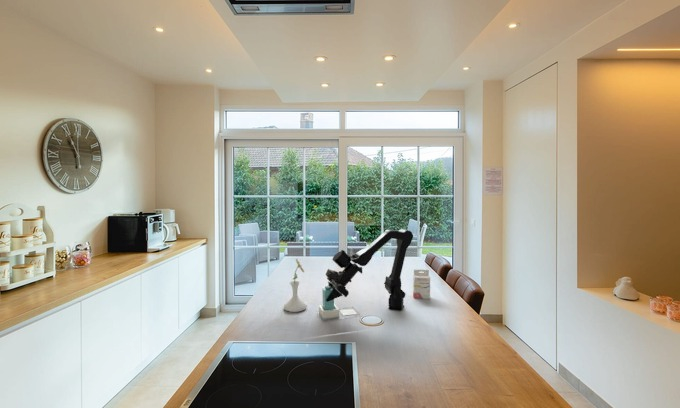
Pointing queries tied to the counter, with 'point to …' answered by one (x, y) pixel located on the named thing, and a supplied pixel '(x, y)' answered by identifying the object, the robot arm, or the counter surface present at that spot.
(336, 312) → the grey board with socket
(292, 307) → the flower in vase
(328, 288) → the plug
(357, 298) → the counter surface
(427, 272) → the ink cartridge box
